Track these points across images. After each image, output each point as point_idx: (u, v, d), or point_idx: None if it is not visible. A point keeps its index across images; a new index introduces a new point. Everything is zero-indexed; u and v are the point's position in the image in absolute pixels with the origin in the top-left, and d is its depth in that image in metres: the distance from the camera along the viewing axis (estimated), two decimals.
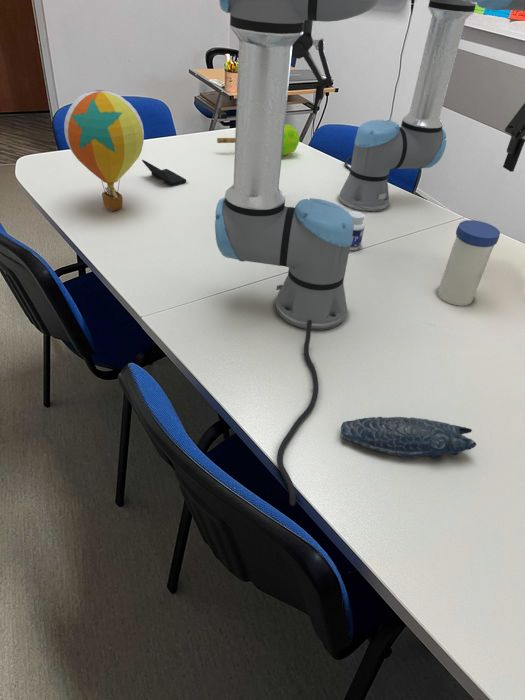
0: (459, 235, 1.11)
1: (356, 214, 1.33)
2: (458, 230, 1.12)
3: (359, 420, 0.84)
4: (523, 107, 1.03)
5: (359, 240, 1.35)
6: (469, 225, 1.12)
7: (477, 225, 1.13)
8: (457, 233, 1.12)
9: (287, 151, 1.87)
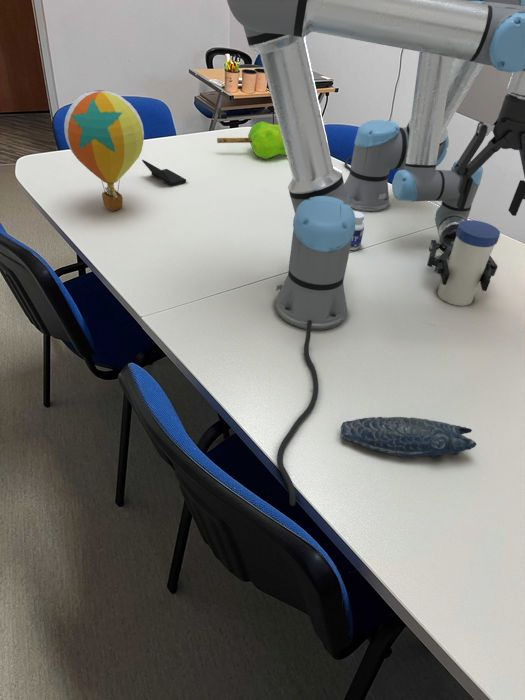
0: (459, 235, 1.11)
1: (356, 214, 1.33)
2: (458, 230, 1.12)
3: (359, 420, 0.84)
4: None
5: (359, 240, 1.35)
6: (469, 225, 1.12)
7: (477, 225, 1.13)
8: (457, 233, 1.12)
9: None
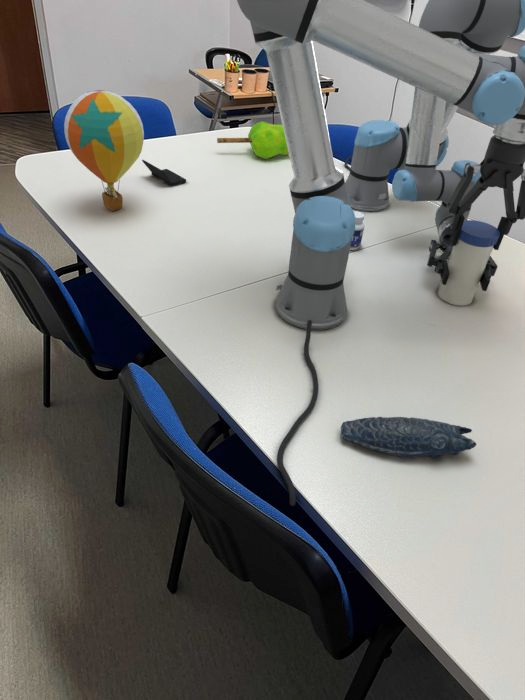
0: (459, 235, 1.11)
1: (356, 214, 1.33)
2: None
3: (359, 420, 0.84)
4: None
5: (359, 240, 1.35)
6: (469, 225, 1.12)
7: (477, 225, 1.13)
8: None
9: (287, 151, 1.87)
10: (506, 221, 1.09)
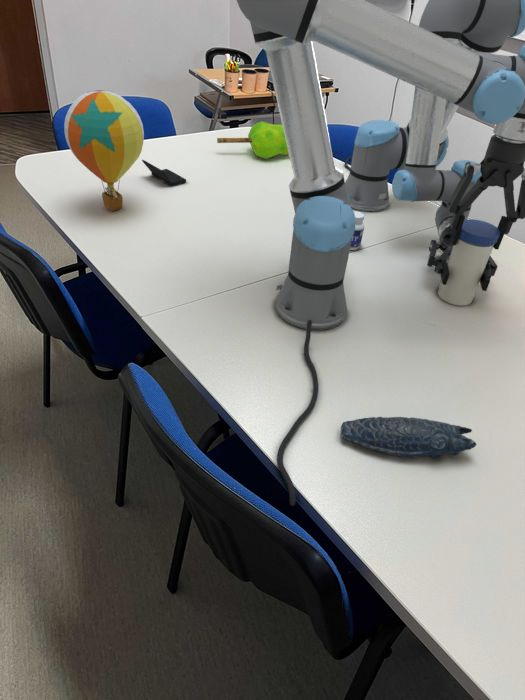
0: (494, 242, 1.10)
1: (356, 214, 1.33)
2: (491, 240, 1.09)
3: (359, 420, 0.84)
4: None
5: (359, 240, 1.35)
6: (479, 232, 1.10)
7: (472, 228, 1.11)
8: (490, 243, 1.09)
9: (287, 151, 1.87)
10: (506, 220, 1.09)
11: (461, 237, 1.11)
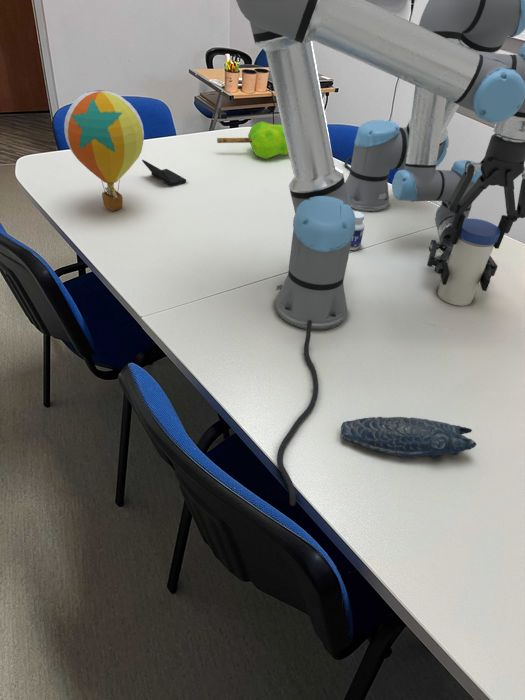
0: None
1: (356, 214, 1.33)
2: None
3: (359, 420, 0.84)
4: None
5: (359, 240, 1.35)
6: (489, 227, 1.11)
7: (486, 230, 1.10)
8: None
9: (287, 151, 1.87)
10: (507, 220, 1.09)
11: (496, 241, 1.10)
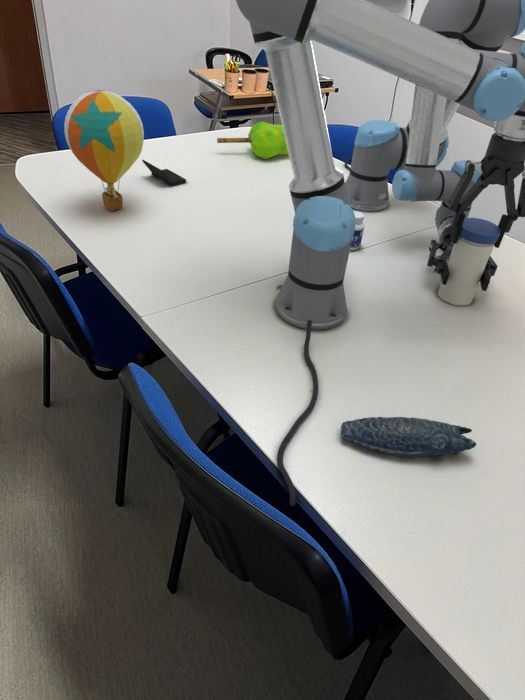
0: None
1: (356, 214, 1.33)
2: None
3: (359, 420, 0.84)
4: None
5: (359, 240, 1.35)
6: (472, 222, 1.12)
7: (481, 223, 1.12)
8: None
9: (287, 151, 1.87)
10: (507, 219, 1.09)
11: None
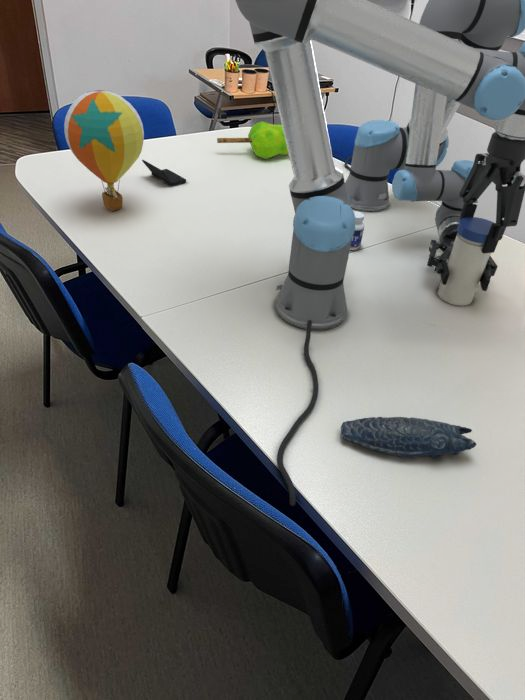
0: None
1: (356, 214, 1.33)
2: (484, 237, 1.08)
3: (359, 420, 0.84)
4: None
5: (359, 240, 1.35)
6: (476, 228, 1.10)
7: (472, 224, 1.11)
8: (484, 240, 1.08)
9: (287, 151, 1.87)
10: (475, 204, 1.13)
11: (458, 231, 1.12)
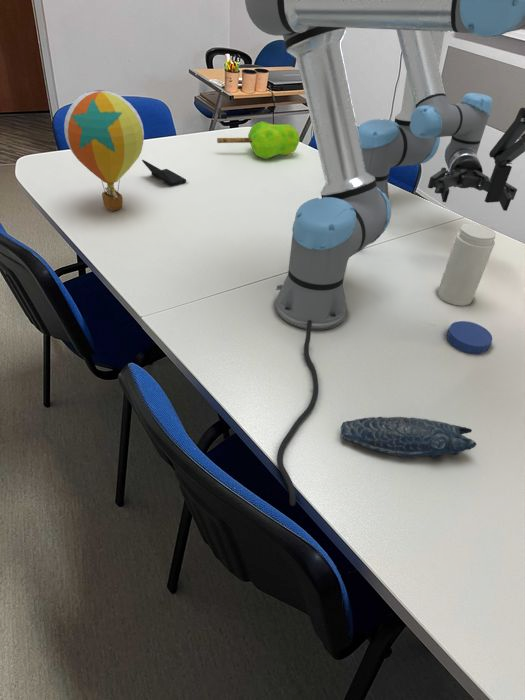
0: (479, 351, 1.05)
1: None
2: (475, 349, 1.04)
3: (359, 420, 0.84)
4: None
5: None
6: (466, 337, 1.06)
7: (462, 332, 1.07)
8: (474, 351, 1.05)
9: (287, 151, 1.87)
10: (509, 166, 0.92)
11: (448, 338, 1.08)
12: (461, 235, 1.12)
